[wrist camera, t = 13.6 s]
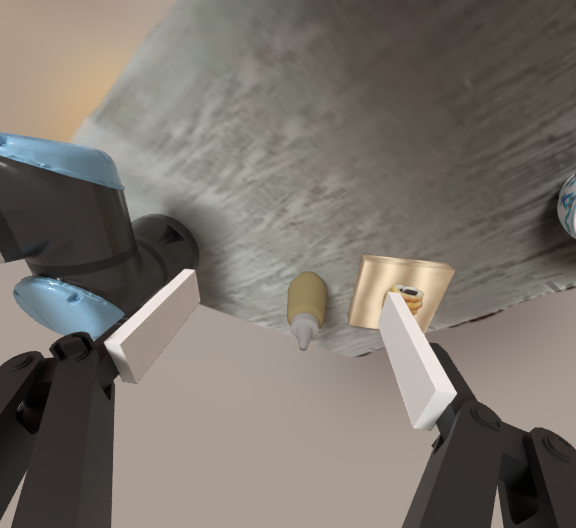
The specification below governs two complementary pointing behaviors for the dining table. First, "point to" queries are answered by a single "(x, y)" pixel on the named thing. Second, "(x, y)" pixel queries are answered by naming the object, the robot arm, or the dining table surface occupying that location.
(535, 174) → the dining table surface
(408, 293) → the pastry
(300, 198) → the dining table surface
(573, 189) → the chinaware
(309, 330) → the squeeze bottle
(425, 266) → the serving board
